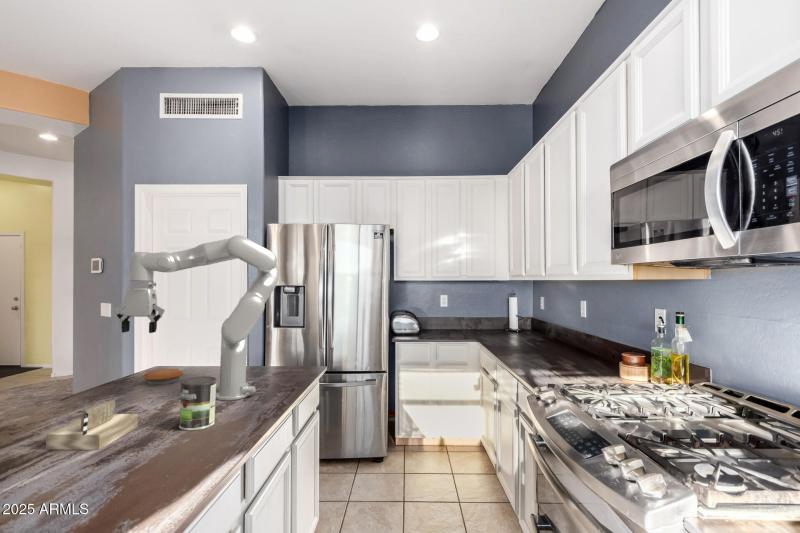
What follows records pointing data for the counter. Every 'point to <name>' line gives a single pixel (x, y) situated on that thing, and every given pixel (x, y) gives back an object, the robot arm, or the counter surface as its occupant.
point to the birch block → (91, 434)
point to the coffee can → (197, 403)
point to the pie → (162, 376)
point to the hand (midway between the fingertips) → (138, 332)
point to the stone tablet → (97, 415)
